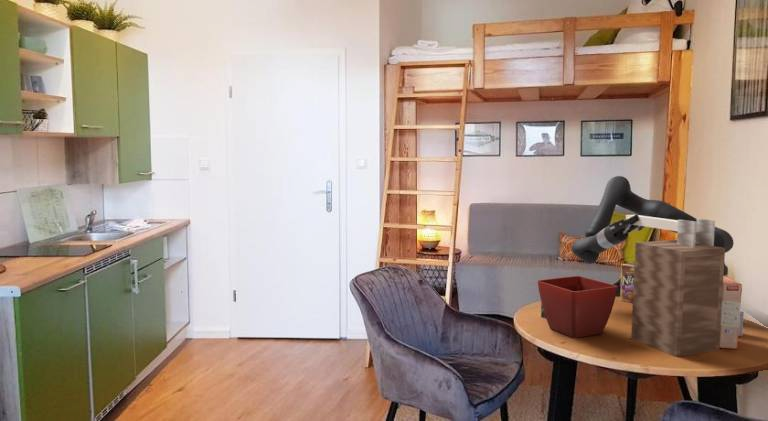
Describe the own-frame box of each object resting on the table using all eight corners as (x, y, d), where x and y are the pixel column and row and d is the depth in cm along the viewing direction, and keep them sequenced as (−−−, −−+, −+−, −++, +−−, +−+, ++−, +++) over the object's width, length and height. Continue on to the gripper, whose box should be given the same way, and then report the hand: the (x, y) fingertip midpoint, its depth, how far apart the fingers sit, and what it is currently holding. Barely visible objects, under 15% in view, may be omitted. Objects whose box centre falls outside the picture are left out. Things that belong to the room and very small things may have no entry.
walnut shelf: (631, 338, 191) (636, 218, 187) (671, 333, 197) (677, 216, 193) (676, 356, 174) (683, 224, 170) (718, 349, 180) (726, 222, 176)
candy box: (619, 300, 241) (620, 264, 239) (625, 299, 243) (626, 263, 242) (639, 305, 233) (641, 267, 232) (645, 303, 236) (647, 266, 234)
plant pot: (534, 326, 204) (536, 279, 202) (577, 320, 212) (579, 275, 210) (572, 342, 187) (574, 291, 185) (617, 335, 194) (619, 286, 192)
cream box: (625, 223, 206) (626, 215, 206) (635, 223, 208) (635, 214, 208) (686, 232, 182) (687, 223, 182) (696, 232, 184) (697, 222, 183)
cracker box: (739, 349, 180) (743, 283, 178) (718, 348, 181) (722, 282, 179) (721, 336, 194) (724, 274, 192) (701, 335, 195) (705, 273, 193)
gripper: (593, 227, 215) (623, 207, 200) (623, 225, 220) (655, 206, 205) (599, 246, 212) (631, 227, 197) (630, 244, 217) (663, 226, 202)
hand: (643, 217), depth 201 cm, fingers closed on cream box, 4 cm apart
